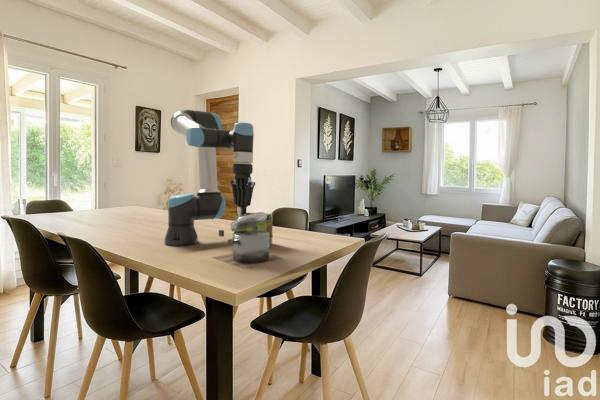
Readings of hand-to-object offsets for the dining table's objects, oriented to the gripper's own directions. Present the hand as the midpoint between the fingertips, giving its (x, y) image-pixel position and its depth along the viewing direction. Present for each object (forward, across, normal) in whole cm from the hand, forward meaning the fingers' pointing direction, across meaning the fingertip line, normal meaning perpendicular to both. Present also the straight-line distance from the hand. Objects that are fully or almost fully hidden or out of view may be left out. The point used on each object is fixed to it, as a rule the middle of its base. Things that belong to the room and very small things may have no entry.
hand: (241, 223), depth 131 cm
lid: (-1, +4, 0) cm, 4 cm away
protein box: (+15, -13, +17) cm, 26 cm away
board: (+14, +4, 0) cm, 15 cm away
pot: (+13, +6, 0) cm, 15 cm away
